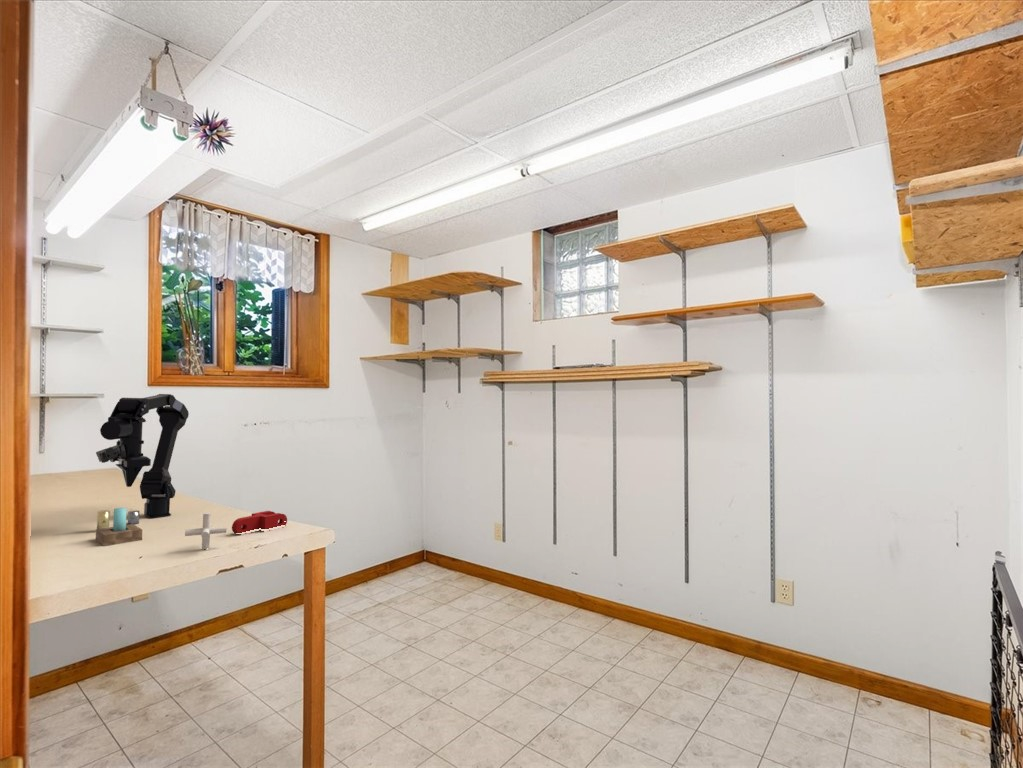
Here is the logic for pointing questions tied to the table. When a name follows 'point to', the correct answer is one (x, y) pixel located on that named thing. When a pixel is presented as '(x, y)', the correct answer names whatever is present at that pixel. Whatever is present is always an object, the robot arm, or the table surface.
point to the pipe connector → (205, 530)
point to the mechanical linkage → (259, 521)
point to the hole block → (118, 535)
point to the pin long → (119, 519)
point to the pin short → (133, 517)
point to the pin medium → (103, 519)
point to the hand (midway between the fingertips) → (128, 486)
